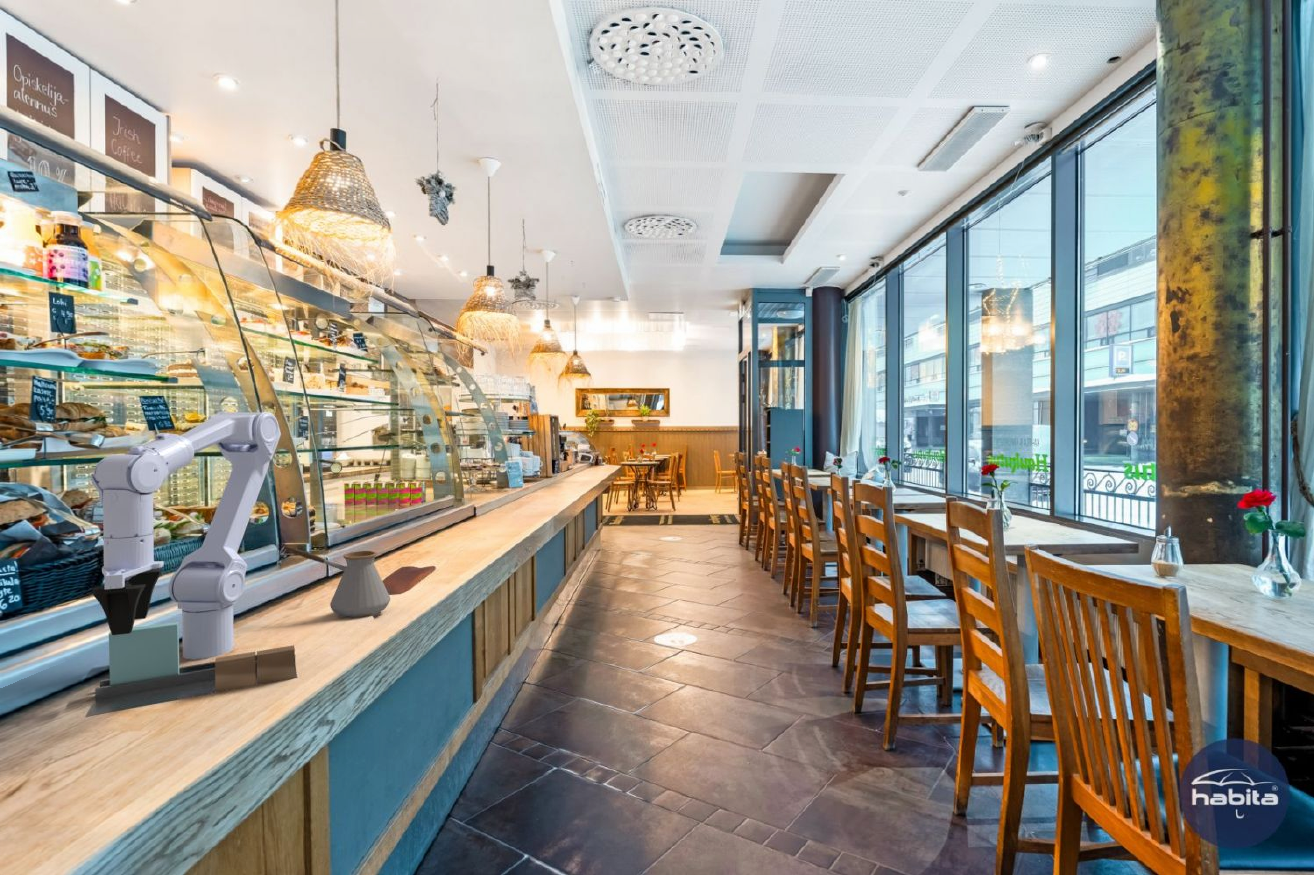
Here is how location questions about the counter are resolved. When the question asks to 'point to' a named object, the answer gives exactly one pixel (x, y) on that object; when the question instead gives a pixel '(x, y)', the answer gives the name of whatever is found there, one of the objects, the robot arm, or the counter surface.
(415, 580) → the wooden tablet
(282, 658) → the offcut
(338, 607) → the coffee pot
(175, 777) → the counter surface
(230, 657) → the offcut
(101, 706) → the rack
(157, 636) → the teal slab
